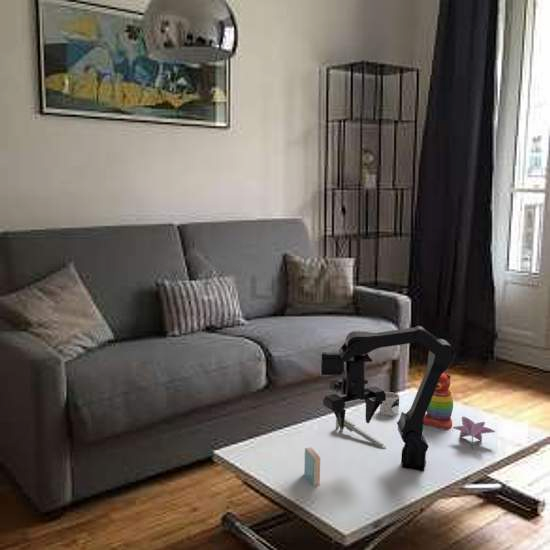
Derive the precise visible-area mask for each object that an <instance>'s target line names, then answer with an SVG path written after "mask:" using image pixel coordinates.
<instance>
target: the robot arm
mask: <svg viewBox="0 0 550 550" xmlns="http://www.w3.org/2000/svg"><path fill="white" fill-rule="evenodd" d="M344 341H345V342H344V343H343V344H342V345H341V347H340V348H339V349H338V352H325V351H323V352H322V351H321V353H320V361H319V370H320V372H319V373H320V376H321V377H327V376H328V377H338V376H339V377H340V376H341V375H343V373H345V376H343V377H342V380H338V378H334V379H333V378H332V379H329V389H330V391H335V393H334V394H333V393H332V394H329V395H324V397H323V400H322V405H323V406H325V408H327V409H329V410H330V411H332V412H333V413H334V416H335V419H337V421H338V424H339V429H340V428H341V429H343V426H344V419H345V418H346V411H347V410H346V409H345V407H346V404H348V403H353V402H359V401H364V403H365V423H366V424H370V422H371V420H372V418H373V416H374V415H375V413H376V412H377V410H378V409H379V408H380V404H382V401H386V393H385V392H386V391H385V390H384V389H381V388H380V387H378V386H369V387H366V384H368V383H369V382H368V381H369V380H368V379H366V363H372V362H373V358H372V356H371V355H370V354H369V353H371V352H373V351H375V350H377V349H380V348H388V347H393V346H401V345H407V344H409V345H410V344H416V343H419V344H421V345H422V346H423V347H424V348H426V349H427V350H428V356H427V367H426V369H425V372H424V374H423V377H422V380H421V383H420V384H419V388H418V390H417V392H416V394H415V396H414V399H413V402H412V405H411V407H410V409H408V411H407V412H406V413H405V412H404V411H401V412H400V415H399V416H400V417H399V420H398V421H397V422H396V424H397V431H398V432H399V435H400V438H401V440H402V441H403V443H404V446H403V447H402V449H401V462H400V463H401V464H402V465H401V468H403V469H408V470H413V471H419V472H425V469H426V465H427V460H426V459H427V456H426V455H427V451H428V449H429V444H428V442H427V439H425V436H424V435H423V431H424V425H425V424H424V416H425V414H427V409H428V406H429V404H430V402H431V399H432V397H433V394H434V392H435V389H436V387H437V385H438V382H439V380H440V377H441V375H442V373H444V372H446V371H447V370H448V369H449V368H450V366H452V363H453V361H454V359H455V358H456V350H455V349H454V347H452V346H451V344H450V343H449V342H448V341H447V340H446V339H443V338H439V339H438V337H436V336H434V335H433V334H432V333H430V332H429V331H427V330H426V329H425V327H423V326H422V325H416V326H415V327H414V326H413V327H408V328H401V329H400V328H399V329H395V330H394V329H393V330H386V331H380V332H370V331H363V330H362V331H360V330H359V331H358V330H354V331H351V332H349V333H348V334H347V335H346V337H345V340H344ZM339 392H340V394H341V395H345V396H339V395H338V394H336V393H339ZM343 430H344V429H343Z"/></svg>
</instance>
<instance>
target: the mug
mask: <svg viewBox="0 0 550 550" xmlns="http://www.w3.org/2000/svg"><path fill="white" fill-rule="evenodd" d="M385 393H386V401H382V404H380V405H379V413H380V414H381V415H383V416H385V417H396V415H397V416H398V415H399V412H400V410H399V409H400V394H398V393H395V392H391V391H385Z"/></svg>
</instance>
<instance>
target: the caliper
mask: <svg viewBox="0 0 550 550" xmlns="http://www.w3.org/2000/svg"><path fill="white" fill-rule="evenodd" d="M335 419H336V420H335V430H339V431H340V432H342V431H344V430H345V429H347V430H348V431H349V432H350V433H351V432H354V433H355V434H357V435H359V436H361V437H362V438H364V439H365V440H367V441H368V442H369V443H371V444H373V445H374V446H376V447H378V446H379V447H378V448H380V447H381V448H382V449H384V450H386V449H387V446H385V445H384V443H383V442H381V441H380V440H379V439H376V438H375V437H373V436H372V435H370V434H369V433H367V432H366V431H364V430H363V429H360V428H359V427H357V426H356V424H355V423H353V422H352V421H350V420H349V419H347V418H346V417H345V419H344V426H343V429H341V428H340V427H339V424H338V421H337V418H335Z"/></svg>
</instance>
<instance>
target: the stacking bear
mask: <svg viewBox="0 0 550 550" xmlns="http://www.w3.org/2000/svg"><path fill="white" fill-rule="evenodd" d="M450 386H451V375H450V374H448V373H447V374H446V373H444V372H443V373H442V375H441V377H440V380H439V382H438V385H437V387H436V389H435V392H434V394H433V397H432V399H431V402H430V404H429V406H428V409H427V411H426V414H425V416H424V424H423V425H426V426H427V425H428V426H433V427H436V428H439V429H441V430H450V429H451V428H452V426H453V420H452V415H453V414H452V413H453V409H454V399H453V394H452V391H451V390H450Z"/></svg>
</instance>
